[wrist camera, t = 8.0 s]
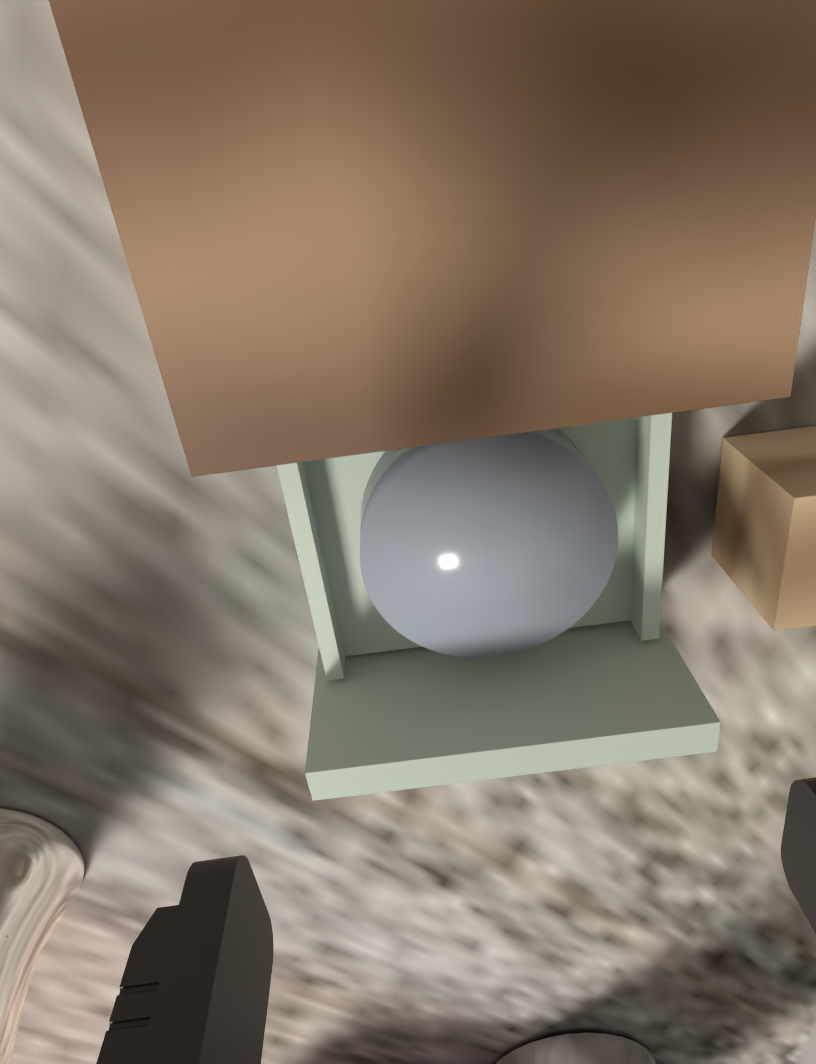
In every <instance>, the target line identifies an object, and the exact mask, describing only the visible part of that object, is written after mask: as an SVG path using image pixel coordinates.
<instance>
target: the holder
mask: <svg viewBox="0 0 816 1064" xmlns="http://www.w3.org/2000/svg"><path fill="white" fill-rule="evenodd" d="M49 2H50V6H51V9H52V12H53V16H54V19H55V22H56V26H57V29H58V32H59V36H60V39H61V42H62V46H63V49H64V52H65V56H66V59H67V62H68V66H69V69H70V72H71V76H72V79H73V82H74V86H75V89H76V92H77V96H78V99H79V102H80V106H81V109H82V112H83V116H84V119H85V122H86V126H87V129H88V132H89V136H90V139H91V142H92V146H93V149H94V152H95V156H96V159H97V162H98V166H99V169H100V172H101V176H102V179H103V182H104V186H105V189H106V192H107V196H108V199H109V202H110V206H111V209H112V212H113V216H114V219H115V222H116V226H117V229H118V232H119V236H120V239H121V242H122V246H123V249H124V252H125V256H126V259H127V262H128V266H129V269H130V272H131V276H132V279H133V282H134V286H135V289H136V292H137V296H138V299H139V302H140V306H141V309H142V312H143V316H144V319H145V323H146V326H147V329H148V333H149V336H150V339H151V343H152V346H153V349H154V353H155V356H156V359H157V363H158V366H159V369H160V373H161V376H162V379H163V383H164V386H165V389H166V393H167V396H168V399H169V403H170V406H171V409H172V413H173V416H174V419H175V423H176V426H177V429H178V433H179V436H180V439H181V443H182V446H183V449H184V453H185V456H186V459H187V463H188V466H189V469H190V473H191V476H192V477H193V476H201V475H208V474H216V473H223V472H231V471H238V470H246V469H253V468H261V467H268V466H276V465H283V464H291V463H298V462H306V461H313V460H321V459H328V458H336V457H343V456H351V455H358V454H366V453H373V452H381V451H388V450H396V449H403V448H411V447H418V446H426V445H433V444H441V443H449V442H456V441H464V440H471V439H479V438H486V437H494V436H501V435H509V434H516V433H524V432H531V431H539V430H546V429H554V428H561V427H569V426H576V425H584V424H591V423H599V422H606V421H614V420H621V419H629V418H636V417H644V416H651V415H659V414H666V413H674V412H681V411H689V410H696V409H704V408H711V407H719V406H726V405H734V404H741V403H749V402H756V401H764V400H771V399H779V398H786V397H790V396H791V389H792V382H793V375H794V368H795V361H796V354H797V346H798V339H799V332H800V325H801V318H802V311H803V304H804V297H805V290H806V283H807V276H808V269H809V262H810V254H811V247H812V240H813V233H814V226H815V219H816V0H49Z"/></svg>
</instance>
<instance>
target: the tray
mask: <svg viewBox="0 0 816 1064" xmlns="http://www.w3.org/2000/svg"><path fill="white" fill-rule="evenodd" d="M671 425H672V413H666V414H659V415H651V416H644V417H636V418H629V419H621V420H614V421H606V422H599V423H591V424H584V425H576V426H569V427H561V428H559V429H560V430H561V431H562V432H563V433H564V434H565V435H567V436H568V437H569V438H570V439H571V440H572V442H573V443H574V444H575V445H576V447H577V448H578V449H579V450H580V452H581V453H582V455H583V456H584V457H585V459H586V460H587V462H588V463H589V465H590V466H591V468H592V469H593V471H594V472H595V473H596V475H597V476H598V478H599V479H600V481H601V482H602V484H603V486H604V487H605V489H606V491H607V492H608V494H609V496H610V499H611V501H612V504H613V507H614V509H615V514H616V518H617V523H618V538H619V539H618V549H617V556H616V560H615V564H614V568H613V570H612V573H611V575H610V578H609V580H608V582H607V584H606V586H605V588H604V590H603V591H602V593H601V595H600V596H599V598H598V599H597V600H596V602H595V603H594V604H593V606H592V607H591V608H590V609H589V610H588V611H587V612H586V613H585V614H584V615H583V617H582V618H581V619H579V620H578V621H577V622H576V623H575V624H573V625H572V626H571V627H570V628H569V629H567V630H566V631H564V632H563V633H561V634H560V635H558V636H557V637H555V638H553V639H551V640H549V641H547V642H545V643H544V644H541V645H539V646H536V647H534V648H532V649H529V650H526V651H522V652H519V653H516V654H512V655H506V656H501V657H492V658H464V657H457V656H450V655H446V654H442V653H438V652H435V651H432V650H430V649H427V648H424V647H422V646H420V645H418V644H416V643H414V642H412V641H410V640H409V639H407V638H406V637H405V636H403V635H402V634H400V633H399V632H397V631H396V630H395V629H394V628H393V627H392V626H391V625H390V624H389V623H387V621H386V620H385V619H384V618H383V617H382V616H381V614H380V613H379V612H378V610H377V609H376V607H375V606H374V604H373V602H372V601H371V599H370V597H369V595H368V592H367V590H366V588H365V585H364V581H363V577H362V573H361V565H360V526H361V505H362V500H363V495H364V491H365V488H366V485H367V482H368V479H369V477H370V475H371V473H372V471H373V469H374V467H375V465H376V464H377V463H378V461H379V460H380V458H381V457H382V455H383V454H384V453H385V452H386V451H381V452H373V453H366V454H358V455H351V456H343V457H336V458H328V459H321V460H313V461H306V462H298V463H291V464H283V465H277V470H278V474H279V478H280V482H281V487H282V491H283V495H284V499H285V504H286V508H287V512H288V517H289V521H290V525H291V529H292V534H293V538H294V542H295V546H296V551H297V555H298V559H299V564H300V568H301V572H302V576H303V581H304V585H305V589H306V593H307V598H308V602H309V606H310V611H311V615H312V619H313V623H314V628H315V632H316V636H317V640H318V645H319V651H318V660H317V669H316V678H315V687H314V696H313V706H312V715H311V724H310V733H309V742H308V751H307V761H306V770H305V775H306V778H307V782H308V786H309V789H310V793H311V796H312V800H313V801H314V800H322V799H330V798H338V797H346V796H355V795H363V794H371V793H379V792H387V791H396V790H404V789H412V788H420V787H428V786H436V785H445V784H453V783H461V782H469V781H477V780H486V779H494V778H502V777H510V776H518V775H527V774H535V773H543V772H551V771H559V770H568V769H576V768H584V767H592V766H600V765H609V764H617V763H625V762H633V761H641V760H650V759H658V758H666V757H674V756H682V755H691V754H699V753H707V752H715V751H717V747H718V739H719V731H720V721H719V719H718V717H717V716H716V714H715V712H714V711H713V709H712V707H711V706H710V704H709V702H708V701H707V699H706V697H705V696H704V694H703V692H702V691H701V689H700V687H699V686H698V684H697V682H696V681H695V679H694V677H693V676H692V674H691V672H690V671H689V669H688V667H687V666H686V664H685V662H684V661H683V659H682V657H681V656H680V654H679V652H678V651H677V649H676V647H675V646H674V644H673V642H672V641H671V639H670V637H669V636H668V634H667V632H666V631H665V629H664V627H663V626H662V624H661V622H660V614H661V597H662V579H663V562H664V545H665V528H666V511H667V494H668V477H669V459H670V442H671Z"/></svg>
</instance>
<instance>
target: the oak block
mask: <svg viewBox="0 0 816 1064" xmlns="http://www.w3.org/2000/svg"><path fill="white" fill-rule="evenodd" d="M712 556H713V558H714V559H715V560H716V561H717V562H718V564H719V565H720V566H721V567H722V569H723V570H724V571H725V572H726V573H727V575H728V576H729V577H730V578H731V579H732V581H733V582H734V583H735V584H736V586H737V587H738V588H739V589H740V590H741V592H742V593H743V594H744V595H745V597H746V598H747V599H748V600H749V601H750V603H751V604H752V605H753V606H754V607H755V609H756V610H757V611H758V612H759V614H760V615H761V616H762V617H763V618H764V620H765V621H766V622H767V623H768V625H769V626H770V627H771V628H772V629H773V631H777V630H785V629H793V628H801V627H809V626H816V426H809V427H802V428H794V429H787V430H779V431H771V432H764V433H756V434H749V435H741V436H734V437H726V438H723V441H722V451H721V462H720V472H719V483H718V493H717V503H716V514H715V524H714V534H713V545H712Z"/></svg>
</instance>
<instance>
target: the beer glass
mask: <svg viewBox="0 0 816 1064" xmlns="http://www.w3.org/2000/svg"><path fill="white" fill-rule="evenodd" d="M83 877H84V861H83V857H82V855H81V853H80V851H79V849H78V847H77V846H76V845H75V843H74V842H73V841H72V840H71V839H70V838H69V837H68V836H67V835H66V834H65V833H64V832H63V831H61V830H60V829H59V828H57V827H56V826H54V825H53V824H51V823H49V822H47V821H45V820H43V819H41V818H38V817H36V816H33V815H30V814H27V813H24V812H20V811H16V810H11V809H5V808H0V1064H10V1062H11V1058H12V1053H13V1049H14V1044H15V1040H16V1036H17V1031H18V1027H19V1023H20V1019H21V1015H22V1011H23V1007H24V1003H25V999H26V995H27V991H28V988H29V985H30V982H31V980H32V977H33V974H34V971H35V968H36V965H37V963H38V961H39V959H40V956H41V954H42V952H43V950H44V947H45V945H46V943H47V942H48V940H49V938H50V936H51V934H52V933H53V931H54V929H55V927H56V926H57V924H58V923H59V921H60V919H61V918H62V916H63V915H64V913H65V911H66V910H67V908H68V907H69V905H70V903H71V902H72V900H73V899H74V897H75V895H76V893H77V891H78V890H79V887H80V885H81V883H82V880H83Z"/></svg>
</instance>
